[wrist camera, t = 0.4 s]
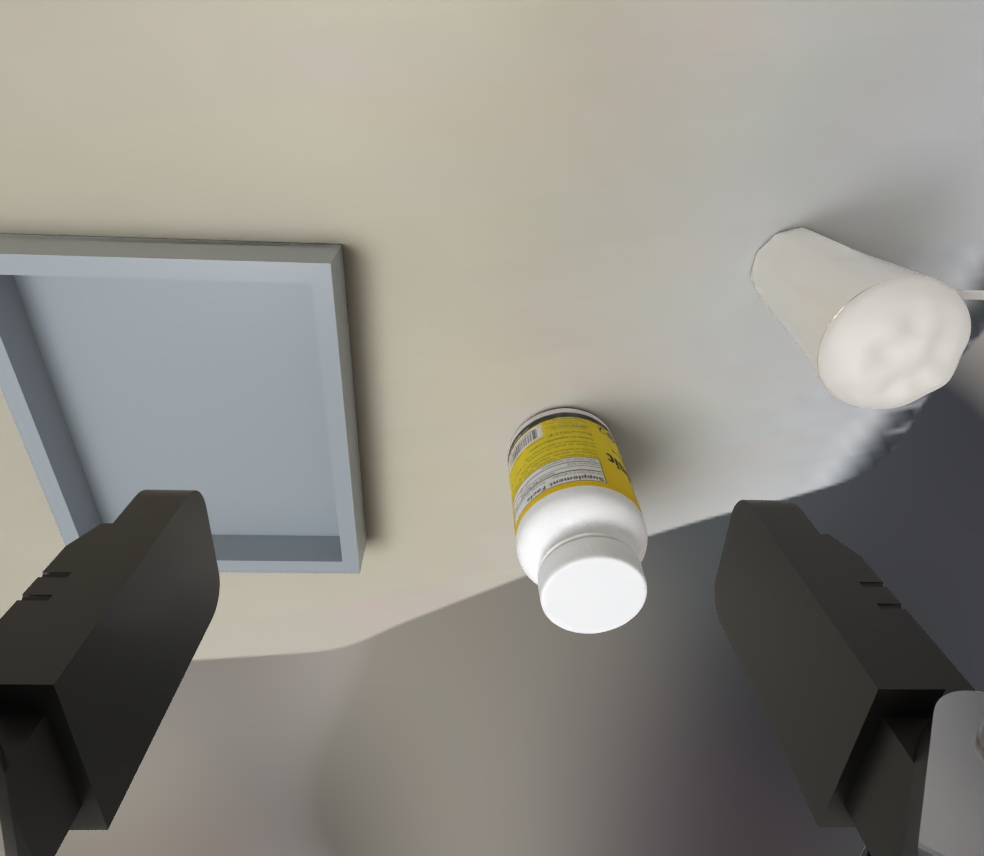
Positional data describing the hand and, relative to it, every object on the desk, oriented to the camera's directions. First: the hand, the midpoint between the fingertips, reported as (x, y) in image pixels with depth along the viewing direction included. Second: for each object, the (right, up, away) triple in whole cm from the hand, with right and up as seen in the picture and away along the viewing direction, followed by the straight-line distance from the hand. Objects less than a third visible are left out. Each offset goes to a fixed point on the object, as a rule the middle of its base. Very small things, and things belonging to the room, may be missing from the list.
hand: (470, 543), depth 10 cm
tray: (-13, +3, +21) cm, 24 cm away
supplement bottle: (+4, +1, +23) cm, 23 cm away
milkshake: (+13, +9, +18) cm, 24 cm away
